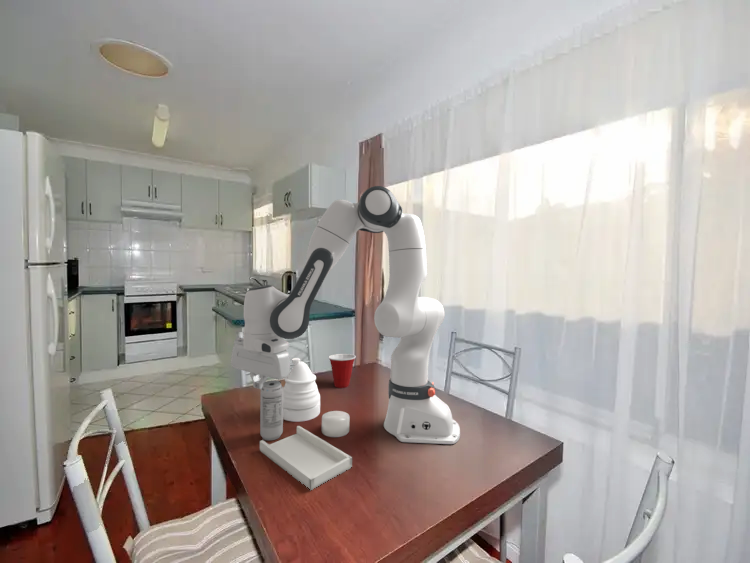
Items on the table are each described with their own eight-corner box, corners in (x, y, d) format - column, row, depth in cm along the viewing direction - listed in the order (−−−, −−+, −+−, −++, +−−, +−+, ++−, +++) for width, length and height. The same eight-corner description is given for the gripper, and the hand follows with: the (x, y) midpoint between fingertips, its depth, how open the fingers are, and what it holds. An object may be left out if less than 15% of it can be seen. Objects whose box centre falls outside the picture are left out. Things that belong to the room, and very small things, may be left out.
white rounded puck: (352, 425, 103) (352, 412, 103) (344, 438, 95) (344, 424, 95) (327, 422, 105) (327, 409, 105) (317, 434, 97) (317, 421, 97)
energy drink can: (283, 430, 100) (284, 379, 99) (281, 441, 94) (281, 387, 93) (262, 431, 99) (262, 379, 98) (258, 442, 93) (258, 387, 92)
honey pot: (297, 425, 102) (298, 366, 101) (271, 413, 110) (271, 358, 109) (328, 411, 113) (329, 357, 112) (302, 401, 120) (302, 350, 119)
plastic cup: (350, 379, 144) (350, 350, 143) (359, 388, 134) (359, 357, 133) (324, 382, 139) (325, 353, 139) (332, 391, 129) (332, 360, 129)
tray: (259, 450, 89) (259, 441, 89) (298, 434, 97) (299, 425, 97) (311, 490, 74) (311, 479, 74) (352, 467, 82) (352, 457, 82)
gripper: (225, 338, 102) (225, 384, 103) (277, 348, 92) (277, 399, 93) (243, 334, 107) (242, 377, 108) (293, 344, 98) (292, 391, 99)
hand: (259, 387), depth 100 cm, fingers closed
